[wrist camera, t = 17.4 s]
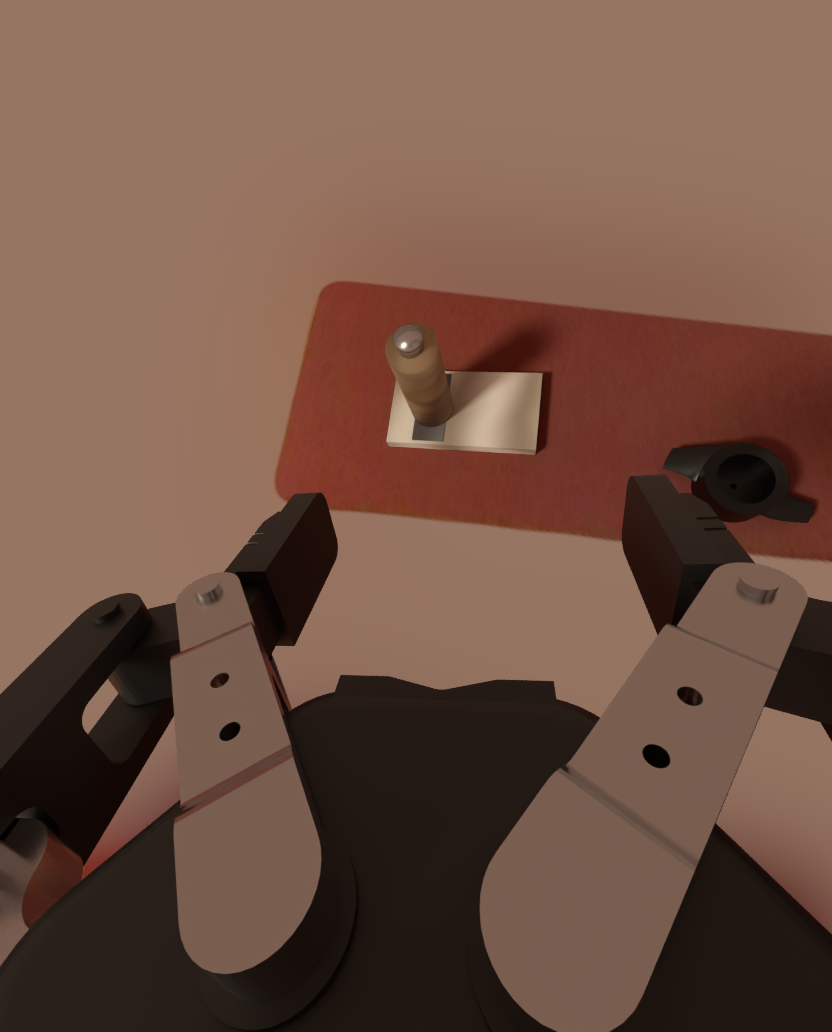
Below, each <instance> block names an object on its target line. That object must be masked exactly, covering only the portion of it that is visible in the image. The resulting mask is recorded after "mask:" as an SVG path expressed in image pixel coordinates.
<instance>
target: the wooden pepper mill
mask: <svg viewBox="0 0 832 1032" xmlns="http://www.w3.org/2000/svg"><path fill="white" fill-rule="evenodd" d="M385 355H386V358H387V360H388V362H389V364H390V367H391V369H392V371H393V373H394V375H395V377H396V380H397V382H398V384H399V386H400V388H401V390H402V393H403V395H404V397H405V399H406V401H407V403H408V406H409V408H410V410H411V412H412V414H413V416H414V418H415V420H416V421H417V422H418V423H419V424H421V425H423V426H426V427H436V426H439V425H442V424H443V423H445V422H446V421H447V420H448V419H449V418H450V416H451V414H452V412H453V401H452V397H451V393H450V389H449V385H448V381H447V377H446V373H445V369H444V365H443V361H442V357H441V353H440V349H439V345H438V341H437V338H436V335H435V333H434V332H433V331H432V329H430V328H429V327H428V326H426V325H423V324H420V323H410V324H406V325H403V326H401V327H399V328H397V329H396V330H395V331H394V332H393V333H392V334H391V335H390V336H389V338H388V340H387V342H386V346H385Z"/></svg>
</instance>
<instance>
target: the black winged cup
mask: <svg viewBox="0 0 832 1032" xmlns="http://www.w3.org/2000/svg"><path fill="white" fill-rule="evenodd" d="M663 469H666V470H669V471H673V472H676V473H679V474H681V475H684V476H686V477H688V478H690V479H692V482H691V490H692V495H694V496H695V497H697V498H699V499H701V500H702V501H704V502H706V503H707V504H709V506H710V507H711V508H712V510H713V511H714V512H715V513H716V515H717V516H718V519H720V520H721V521H724V522H743V521H747V520H749V519H752V518H754V517H756V516H759V515H763V516H765V517H768V518H771V519H776V520H781V521H789V522H801V523H808V522H809V520H810V518H811V516H812V513H813V508H814V505H813V503H811V502H808V501H805V500H802V499H799V498H797V497H794V496H791V495H789V494H787V491H788V487H789V477H788V473H787V470H786V468H785V466H784V465H783V463H782V462H781V461H780V459H779V458H778V457H777V456H776V455H774V454H773V453H772V452H770V451H768V450H767V449H765V448H762V447H760V446H757V445H752V444H734V445H730V446H700V447H684V448H673V449H672V450H671V452H670V453H669V455H668V457H667V459H666V461H665V463H664V466H663ZM730 486H731V487H732V488H733V489H732V488H731V487H730Z"/></svg>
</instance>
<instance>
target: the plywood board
mask: <svg viewBox="0 0 832 1032" xmlns="http://www.w3.org/2000/svg"><path fill="white" fill-rule="evenodd" d="M445 373H446V377H447V381H448V385H449V389H450V393H451V397H452V401H453V412H452V414H451V416H450V418H449V419H448V420H447V421H446V422H445V423H443V424H442V425H439V426H436V427H426V426H423V425H421V424H419V423H418V422H417V421H416V420H415V418H414V416H413V414H412V412H411V410H410V408H409V406H408V403H407V401H406V399H405V397H404V395H403V393H402V390H401V388H400V386H399V384H398V382H397V380H396V384H395V390H394V397H393V403H392V409H391V416H390V422H389V428H388V434H387V441H386V442H387V443H388V445H389V446H393V447H411V448H428V449H446V450H463V451H481V452H498V453H515V454H533V455H535V452H536V443H537V432H538V420H539V408H540V397H541V385H542V374H543V373H514V372H459V371H445Z"/></svg>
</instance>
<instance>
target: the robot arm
mask: <svg viewBox="0 0 832 1032" xmlns="http://www.w3.org/2000/svg"><path fill="white" fill-rule="evenodd" d="M622 544H623V550H624V554H625V556H626V559H627V561H628V564H629V566H630V569H631V571H632V573H633V576H634V578H635V581H636V583H637V586H638V588H639V590H640V593H641V595H642V598H643V600H644V603H645V605H646V608H647V610H648V613H649V614H650V618H651V620H652V622H653V625H654V627H655V629H656V632H657V635H658V636H657V637H656V639H655V640H654V642H653V643H652V645H651V646H650V647H649V649H648V651H647V652H646V653H645V655H644V656H643V657H642V659H641V660H640V662H639V663H638V665H637V666H636V667H635V669H634V670H633V672H632V673H631V675H630V676H629V678H628V679H627V680H626V682H625V683H624V685H623V686H622V688H621V689H620V690H619V692H618V693H617V695H616V696H615V698H614V699H613V701H612V702H611V703H610V705H609V706H608V708H607V709H606V711H605V712H604V713H603V715H602V716H601V718H600V717H598V716H596V715H595V714H593V713H591V712H589V711H587V710H585V709H583V708H581V707H579V706H576V705H573V704H570V703H568V702H565V701H561V700H558V699H556V695H555V687H554V682H553V681H527V680H493V681H488V682H483V683H477V684H472V685H467V686H462V687H456V688H451V689H446V690H438V689H433V688H430V687H426V686H422V685H419V684H415V683H411V682H407V681H404V680H400V679H397V678H393V677H389V676H355V675H341V676H340V679H339V682H338V684H337V687H336V690H335V692H333V693H328V694H325V695H322V696H319V697H316V698H314V699H311V700H309V701H307V702H305V703H303V704H301V705H299V706H297V707H296V708H294V709H292V707H291V704H290V701H289V699H288V696H287V693H286V690H285V688H284V685H283V682H282V679H281V676H280V674H279V671H278V668H277V665H276V662H275V660H274V658H273V655H272V652H273V650H274V648H275V646H295V644H296V642H297V640H298V638H299V636H300V633H301V631H302V629H303V627H304V625H305V623H306V621H307V619H308V617H309V615H310V613H311V611H312V608H313V606H314V604H315V602H316V600H317V598H318V596H319V594H320V592H321V590H322V588H323V586H324V584H325V581H326V579H327V577H328V575H329V573H330V571H331V569H332V566H333V565H334V563H335V560H336V557H337V552H338V543H337V537H336V534H335V530H334V527H333V524H332V520H331V516H330V512H329V509H328V505H327V501H326V499H325V497H324V495H323V494H322V493H304V494H294V495H293V496H292V498H291V499H290V500H289V501H288V503H287V504H286V506H285V507H284V508H283V509H282V511H281V512H277V513H276V514H274V515H273V516H271V517H270V518H269V519H267V520H266V521H264V522H263V523H262V525H261V526H260V527H259V528H258V530H257V531H256V532H255V535H253V536H252V537H251V539H250V540H249V541H248V545H245V546H244V547H243V549H242V550H241V551H240V553H239V554H238V555H237V556H236V558H235V559H234V560H233V561H232V563H231V564H230V565H229V566H228V568H227V569H226V570H225V571H224V572H221V573H215V574H210V575H207V576H204V577H202V578H200V579H198V580H196V581H194V582H193V583H191V584H190V585H188V586H187V587H186V588H185V589H184V590H183V591H182V592H181V593H180V594H179V596H178V598H177V600H176V603H172V604H167V605H163V606H159V607H154V608H150V609H147V608H146V606H145V604H144V603H143V601H142V600H141V598H140V597H139V596H138V595H136V594H133V593H125V594H119V595H115V596H112V597H109V598H107V599H104V600H102V601H100V602H98V603H96V604H95V605H93V606H91V607H90V608H89V609H87V610H86V611H84V612H83V613H82V614H81V615H80V616H79V617H78V618H77V619H76V620H75V621H74V622H73V623H72V624H71V625H70V626H69V627H68V628H67V629H66V630H65V631H64V632H63V633H62V634H61V635H60V636H59V637H58V638H57V639H56V640H55V641H54V642H53V643H52V644H51V645H50V646H49V647H48V648H47V649H46V650H45V651H44V652H43V653H42V654H41V655H40V656H39V657H38V658H37V659H36V660H35V661H34V662H33V663H32V664H31V665H30V666H29V667H28V668H26V670H25V671H24V672H22V673H21V674H20V675H19V676H18V678H16V679H15V680H14V681H13V683H11V684H10V685H9V686H8V687H7V688H6V689H5V690H4V691H3V692H2V693H1V694H0V1032H832V934H831V933H830V932H829V931H828V930H827V929H826V928H825V927H823V926H822V925H821V924H820V923H819V922H818V921H817V920H816V919H815V918H814V917H813V916H812V915H811V914H810V913H809V912H808V911H807V910H806V909H804V907H803V906H802V905H800V904H799V903H798V902H797V901H796V900H795V899H794V898H793V897H792V896H791V895H790V894H789V893H788V892H787V891H786V890H785V889H784V888H783V887H782V886H781V885H780V884H778V883H777V881H775V880H774V879H773V878H772V877H771V876H770V875H769V874H768V873H767V872H766V871H765V870H764V869H763V868H762V867H761V866H760V865H759V864H758V863H757V862H756V861H755V860H754V859H752V858H751V857H750V856H749V855H748V854H747V853H746V852H745V851H744V850H743V849H742V848H741V847H740V846H739V845H738V844H737V843H736V842H735V841H734V840H733V839H731V837H730V836H728V835H727V834H726V833H725V832H724V831H723V830H722V829H721V828H720V827H719V826H718V825H717V824H716V821H717V819H718V816H719V814H720V812H721V809H722V807H723V804H724V801H725V799H726V797H727V795H728V792H729V790H730V787H731V785H732V782H733V780H734V778H735V775H736V773H737V771H738V768H739V765H740V763H741V761H742V758H743V756H744V754H745V751H746V749H747V746H748V744H749V742H750V739H751V737H752V734H753V732H754V729H755V727H756V725H757V722H758V720H759V718H760V715H761V713H762V710H763V708H764V707H768V708H772V709H775V710H779V711H782V712H786V713H790V714H793V715H797V716H800V717H804V718H808V719H811V720H815V721H819V722H821V724H822V726H823V727H824V729H825V731H826V732H827V734H828V736H829V737H830V739H831V741H832V602H828V601H823V600H818V599H813V598H809V597H807V593H806V591H805V589H804V588H803V587H802V586H801V584H799V583H798V582H797V581H796V580H795V579H793V578H792V577H790V576H789V575H787V574H785V573H783V572H781V571H779V570H776V569H773V568H770V567H768V566H763V565H759V564H755V563H754V561H753V560H752V559H751V558H750V556H749V555H748V554H747V553H746V551H745V550H744V549H743V547H742V546H741V545H740V544H739V542H738V541H737V540H736V539H735V537H734V536H733V535H732V534H731V532H730V531H729V530H727V527H726V526H725V525H724V523H723V522H722V521H721V520H720V519H718V516H717V515H716V513H715V512H714V511H713V510H712V508H711V507H710V506H709V504H707V503H706V502H704V501H702V500H701V499H699V498H697V497H695V496H694V495H692V494H690V493H681V494H679V493H678V492H677V490H676V489H675V488H674V486H673V485H672V483H671V482H670V481H669V479H668V478H667V476H666V475H664V474H661V475H643V476H631V477H630V478H629V480H628V484H627V492H626V500H625V509H624V517H623V526H622ZM107 679H109V681H110V682H111V684H112V685H113V686H114V687H115V689H116V690H117V692H118V693H119V694H118V695H117V697H116V698H115V699H114V700H113V702H112V703H111V704H110V706H109V707H108V708H107V710H106V711H105V712H104V714H103V715H102V716H101V718H100V719H99V720H98V722H97V723H96V725H95V726H94V727H93V728H92V730H91V731H90V732H89V734H87V733H86V732H85V730H84V729H83V726H82V715H83V712H84V709H85V707H86V705H87V704H88V702H89V701H90V700H91V698H92V697H93V696H94V695H95V693H96V692H97V691H98V690H99V688H100V687H101V686H102V685H103V684H104V682H105V681H106V680H107ZM173 716H174V717H175V732H176V745H177V758H178V770H179V771H178V772H179V785H180V798H181V799H180V800H179V801H178V802H177V803H175V804H174V805H173V806H172V807H171V808H170V809H168V810H167V811H166V812H164V813H163V814H162V815H161V816H160V817H158V818H157V819H156V820H155V821H153V822H152V823H151V824H150V825H149V826H147V827H146V828H145V829H144V830H143V831H141V832H140V833H139V834H138V835H136V836H135V837H134V838H133V839H132V840H130V841H129V842H128V843H127V844H125V845H124V846H123V847H122V848H121V849H119V850H118V851H117V852H116V853H115V854H113V855H112V856H111V857H110V858H108V859H107V860H106V861H105V862H104V863H102V864H101V865H100V866H99V867H97V868H96V869H95V870H94V871H92V872H91V873H90V874H89V875H88V876H86V877H85V878H84V879H83V880H82V876H83V867H84V865H85V863H86V862H87V860H88V858H89V857H90V855H91V853H92V851H93V850H94V848H95V847H96V845H97V843H98V842H99V840H100V838H101V837H102V835H103V833H104V832H105V830H106V828H107V827H108V825H109V823H110V822H111V820H112V818H113V817H114V815H115V813H116V811H117V810H118V808H119V807H120V805H121V803H122V802H123V800H124V798H125V796H126V795H127V793H128V791H129V790H130V788H131V787H132V785H133V783H134V782H135V780H136V778H137V777H138V775H139V773H140V772H141V770H142V768H143V767H144V765H145V763H146V762H147V760H148V758H149V757H150V755H151V753H152V752H153V750H154V748H155V746H156V745H157V743H158V741H159V740H160V738H161V736H162V735H163V733H164V731H165V730H166V728H167V727H168V725H169V723H170V722H171V719H172V718H173Z"/></svg>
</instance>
